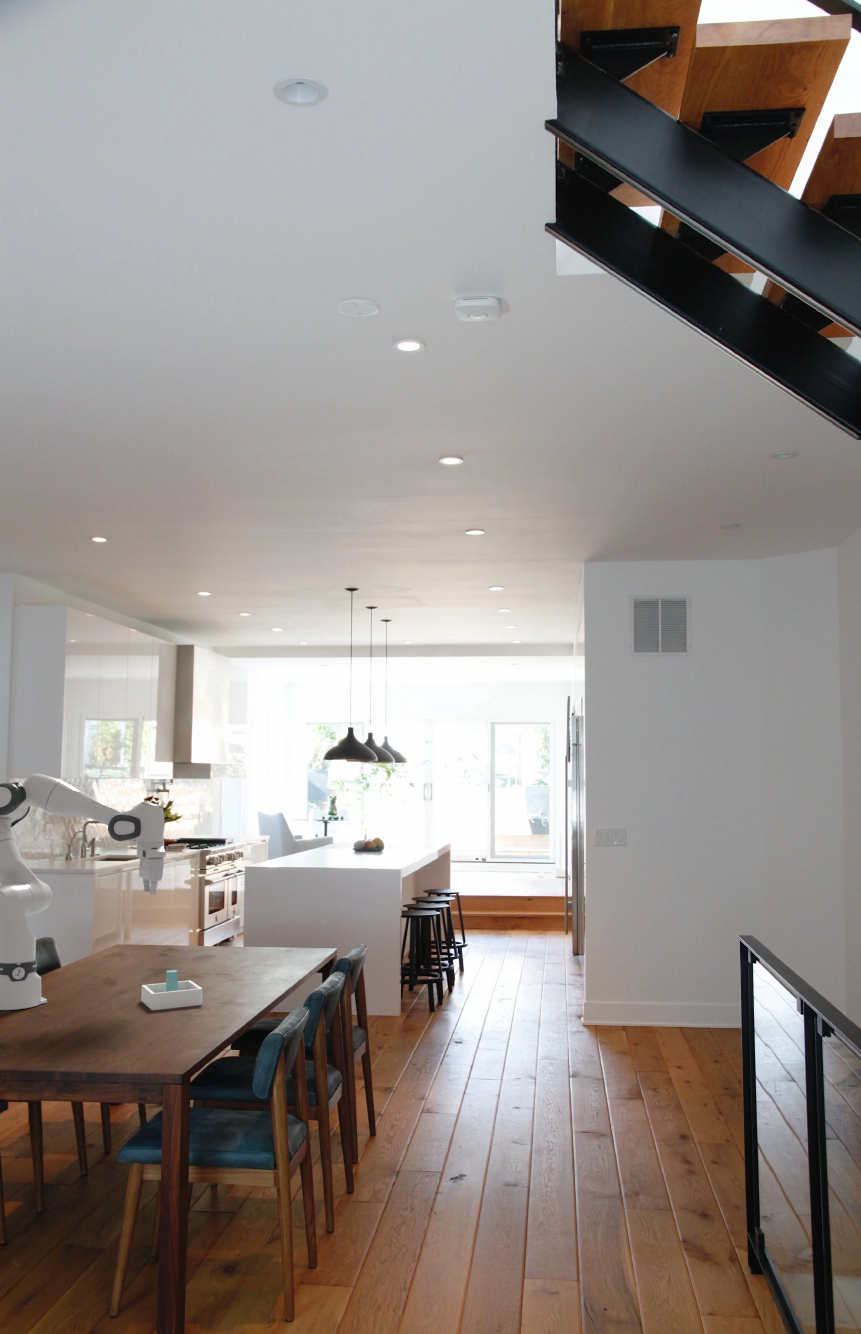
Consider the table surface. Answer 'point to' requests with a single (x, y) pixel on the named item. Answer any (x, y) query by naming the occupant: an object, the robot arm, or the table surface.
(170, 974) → the peg
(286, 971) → the table surface
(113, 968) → the table surface
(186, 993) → the box
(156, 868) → the robot arm
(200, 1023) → the table surface
